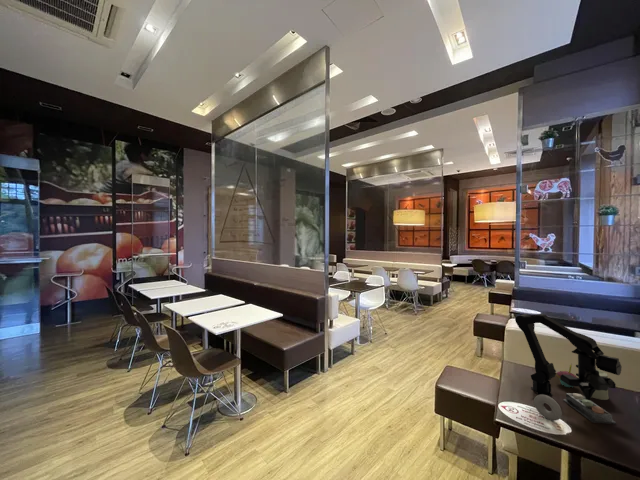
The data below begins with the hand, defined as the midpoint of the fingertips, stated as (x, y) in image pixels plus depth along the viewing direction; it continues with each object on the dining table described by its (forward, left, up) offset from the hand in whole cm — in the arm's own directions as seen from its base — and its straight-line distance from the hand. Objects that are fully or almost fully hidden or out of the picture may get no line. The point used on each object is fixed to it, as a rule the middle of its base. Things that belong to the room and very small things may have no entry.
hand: (587, 399), depth 120 cm
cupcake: (+8, +23, -6) cm, 25 cm away
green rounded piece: (0, 0, -4) cm, 4 cm away
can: (+15, +15, -6) cm, 22 cm away
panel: (0, 0, -5) cm, 5 cm away
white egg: (0, +5, -4) cm, 6 cm away
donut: (-22, -7, -5) cm, 24 cm away
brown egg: (0, -5, -4) cm, 7 cm away
